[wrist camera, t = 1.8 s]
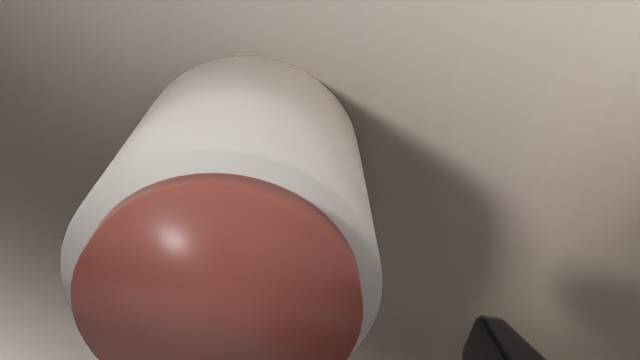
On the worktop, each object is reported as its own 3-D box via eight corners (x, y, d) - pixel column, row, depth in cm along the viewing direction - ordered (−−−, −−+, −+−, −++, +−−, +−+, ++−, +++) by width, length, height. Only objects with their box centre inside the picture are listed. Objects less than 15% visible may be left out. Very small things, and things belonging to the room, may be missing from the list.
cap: (380, 76, 13) (426, 197, 8) (336, 260, 15) (350, 436, 10) (142, 37, 12) (28, 140, 7) (140, 234, 15) (56, 409, 10)
